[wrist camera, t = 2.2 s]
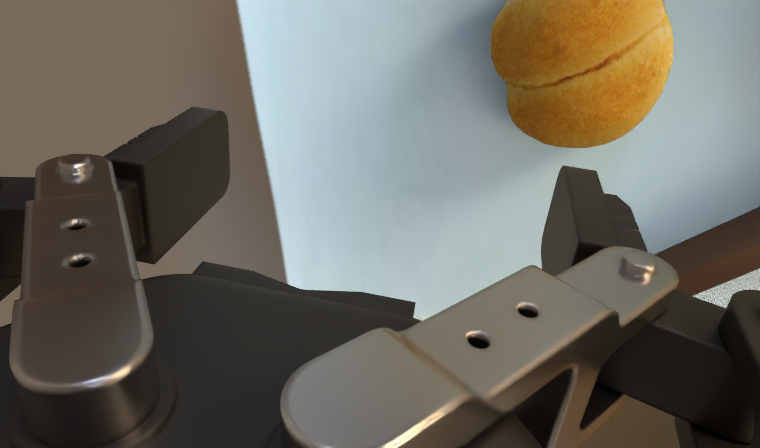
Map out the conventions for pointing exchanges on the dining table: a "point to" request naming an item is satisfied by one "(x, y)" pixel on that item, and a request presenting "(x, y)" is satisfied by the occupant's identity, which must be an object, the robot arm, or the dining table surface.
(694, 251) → the corner guide
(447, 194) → the dining table surface
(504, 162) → the dining table surface
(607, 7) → the bread roll
